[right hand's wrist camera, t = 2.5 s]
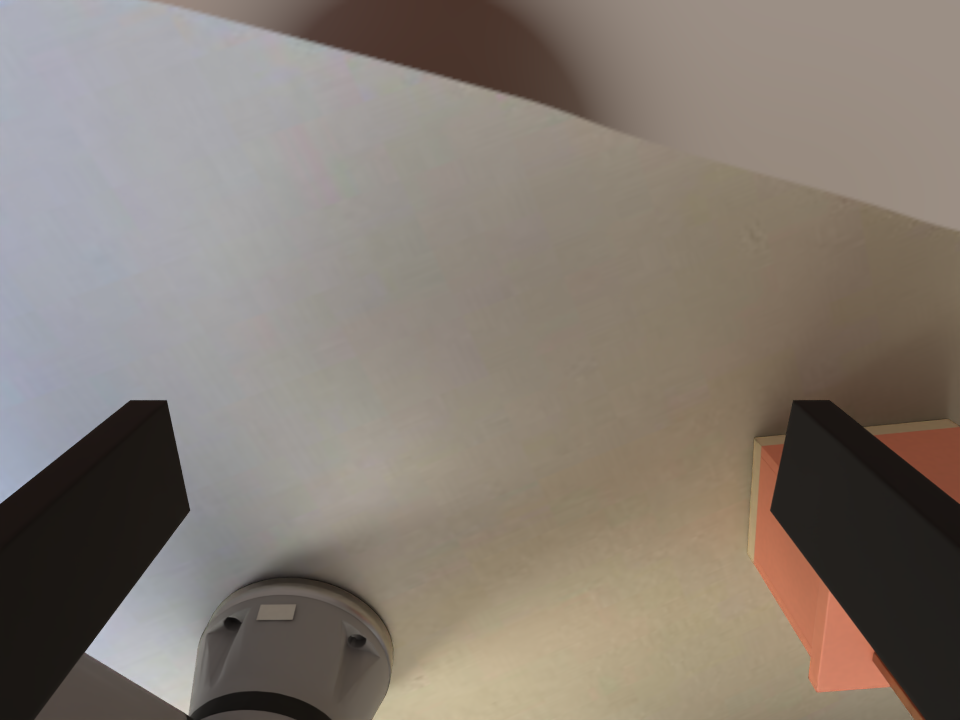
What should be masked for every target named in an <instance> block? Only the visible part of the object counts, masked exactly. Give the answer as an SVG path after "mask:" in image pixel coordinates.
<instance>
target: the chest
mask: <svg viewBox="0 0 960 720" xmlns="http://www.w3.org/2000/svg"><path fill="white" fill-rule="evenodd" d="M864 428H865V429H866V430H868V431H869V432H870V433H871V434H873V435H874V436H875V437H876V438H878V439H879V440H880V441H881V442H883V443H884V444H885V445H886V446H888V447H889V448H890V449H891V450H893V451H894V452H895V453H896V454H898V455H899V456H900V457H901V458H903V459H904V460H905V461H906V462H908V463H909V464H910V465H911V466H913V467H914V468H915V469H916V470H918V471H919V472H920V473H921V474H923V475H924V476H925V477H926V478H928V479H929V480H930V481H931V482H933V483H934V484H935V485H937V486H938V487H939V488H940V489H942V490H943V491H944V492H945V493H947V494H948V495H949V496H950V497H952V498H953V499H954V500H955V501H957V502H958V503H959V504H960V426H958V425H957V424H955V423H954V422H952V421H951V420H949V419H942V420H932V421H921V422H911V423H901V424H890V425H880V426H870V427H864ZM785 437H786V435H777V436H766V437H756V438H754V450H753V467H752V483H751V500H750V516H749V533H748V549H747V554H748V555H749V557H750V559H751V560H752V562H753V564H754V565H755V566H756V568H757V570H758V571H759V573H760V574H761V576H762V578H763V579H764V581H765V583H766V584H767V586H768V588H769V589H770V591H771V593H772V594H773V596H774V598H775V599H776V601H777V602H778V604H779V606H780V607H781V609H782V611H783V612H784V614H785V616H786V617H787V619H788V621H789V622H790V624H791V625H792V627H793V629H794V630H795V632H796V634H797V635H798V637H799V639H800V640H801V642H802V644H803V645H804V647H805V649H806V650H807V652H808V653H809V655H810V657H811V651H812V643H813V634H814V626H815V617H816V609H817V600H818V592H819V583H820V577H819V576H818V575H817V573H816V572H815V570H814V569H813V568H812V566H811V565H810V564H809V562H808V561H807V560H806V558H805V557H804V556H803V554H802V553H801V552H800V550H799V549H798V548H797V546H796V545H795V544H794V542H793V541H792V540H791V538H790V537H789V536H788V534H787V533H786V532H785V530H784V529H783V528H782V526H781V525H780V524H779V522H778V521H777V519H776V518H775V517H774V515H773V514H772V513H771V511H770V508H771V503H772V498H773V493H774V489H775V484H776V479H777V475H778V470H779V465H780V460H781V456H782V451H783V446H784V441H785Z"/></svg>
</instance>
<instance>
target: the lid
mask: <svg viewBox="0 0 960 720" xmlns="http://www.w3.org/2000/svg"><path fill="white" fill-rule="evenodd" d="M808 678H809V680H810V682H811V683H812V685H813V687H814V689H815V690H816V692H829V691H842V690H855V689H868V688H881V687H891V688H892V689H893V690H894V692H895V693H896V695H897V696H898V697H899V699H900V700H901V701H902V703H903V704H904V706H905V707H906V708H907V710H908V711H909V713H910V714H911V715H912V717H913V718H914V720H926V719H925V718H924V717H923V715H922V714H921V713H920V711H919V710H918V709H917V707H916V706H915V705H914V703H913V702H912V701H911V699H910V698H909V697H908V695H907V694H906V693H905V691H904V690H903V689H902V687H901V686H900V685H899V683H898V682H897V681H896V679H895V678H894V676H893V675H892V674H891V672H890V671H889V670H888V668H887V667H886V666H885V664H884V663H883V662H882V660H881V659H880V658H879V656H878V655H877V654H876V652H875V651H874V650H873V648H872V647H871V646H870V644H869V643H868V642H867V640H866V639H865V638H864V636H863V635H862V634H861V632H860V631H859V630H858V628H857V627H856V626H855V624H854V623H853V621H852V620H851V619H850V617H849V616H848V615H847V613H846V612H845V611H844V609H843V608H842V607H841V605H840V604H839V603H838V601H837V600H836V599H835V597H834V596H833V595H832V593H831V592H830V591H829V589H828V588H827V587H826V585H825V584H824V583H823V581H822V580H821V579H820V583H819V592H818V600H817V609H816V617H815V626H814V634H813V643H812V651H811V659H810V668H809V676H808Z"/></svg>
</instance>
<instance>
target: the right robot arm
mask: <svg viewBox="0 0 960 720" xmlns="http://www.w3.org/2000/svg"><path fill="white" fill-rule="evenodd" d="M189 511H190V508H189V503H188V498H187V493H186V489H185V484H184V479H183V475H182V470H181V465H180V460H179V456H178V451H177V446H176V441H175V437H174V432H173V427H172V422H171V418H170V413H169V408H168V404H167V400H130V401H129V402H128V403H126V404H125V405H124V406H123V407H121V408H120V409H119V410H118V411H116V412H115V413H114V414H113V415H111V416H110V417H109V418H108V419H106V420H105V421H104V422H103V423H101V424H100V425H99V426H97V427H96V428H95V429H94V430H92V431H91V432H90V433H89V434H87V435H86V436H85V437H84V438H82V439H81V440H80V441H79V442H77V443H76V444H75V445H74V446H72V447H71V448H70V449H69V450H67V451H66V452H65V453H64V454H62V455H61V456H60V457H59V458H57V459H56V460H55V461H54V462H52V463H51V464H50V465H49V466H47V467H46V468H45V469H44V470H42V471H41V472H40V473H39V474H37V475H36V476H35V477H34V478H32V479H31V480H30V481H29V482H27V483H26V484H25V485H23V486H22V487H21V488H20V489H18V490H17V491H16V492H15V493H13V494H12V495H11V496H10V497H8V498H7V499H6V500H5V501H3V502H2V503H1V504H0V720H372V719H373V717H374V715H375V713H376V711H377V710H378V708H379V706H380V704H381V702H382V701H383V699H384V697H385V695H386V693H387V690H388V687H389V683H390V677H391V671H392V665H393V646H392V642H391V638H390V635H389V633H388V631H387V629H386V627H385V625H384V624H383V622H382V621H381V619H380V618H379V617H378V615H377V614H376V613H375V612H374V611H373V610H372V609H371V608H370V607H369V606H368V605H367V604H365V603H364V602H363V601H361V600H360V599H359V598H357V597H355V596H354V595H352V594H350V593H349V592H347V591H345V590H343V589H340V588H338V587H336V586H333V585H330V584H327V583H324V582H320V581H316V580H310V579H303V578H275V579H268V580H264V581H259V582H256V583H253V584H250V585H248V586H245V587H243V588H241V589H239V590H238V591H236V592H234V593H233V594H231V595H230V596H229V597H227V598H226V599H225V600H224V601H223V602H222V603H221V604H220V605H219V606H218V608H217V609H216V611H215V612H214V614H213V615H212V617H211V619H210V621H209V623H208V625H207V626H206V628H205V630H204V632H203V634H202V636H201V639H200V641H199V645H198V650H197V658H196V665H195V673H194V680H193V687H192V695H191V702H190V709H189V716H188V715H186V714H185V713H183V712H182V711H180V710H179V709H177V708H175V707H174V706H172V705H170V704H169V703H167V702H165V701H164V700H162V699H160V698H159V697H157V696H155V695H154V694H152V693H150V692H149V691H147V690H146V689H144V688H142V687H141V686H139V685H137V684H136V683H134V682H132V681H131V680H129V679H127V678H126V677H124V676H122V675H121V674H119V673H117V672H116V671H114V670H113V669H111V668H109V667H108V666H106V665H104V664H103V663H101V662H99V661H98V660H96V659H94V658H93V657H91V656H89V655H88V654H86V653H84V652H85V651H86V650H87V648H88V647H89V646H90V644H91V643H92V642H93V640H94V639H95V638H96V636H97V635H98V634H99V632H100V631H101V630H102V628H103V627H104V625H105V624H106V623H107V621H108V620H109V619H110V617H111V616H112V615H113V613H114V612H115V611H116V609H117V608H118V607H119V605H120V604H121V603H122V601H123V600H124V599H125V597H126V596H127V595H128V593H129V592H130V591H131V589H132V588H133V587H134V585H135V584H136V583H137V581H138V580H139V579H140V577H141V576H142V575H143V573H144V572H145V570H146V569H147V568H148V566H149V565H150V564H151V562H152V561H153V560H154V558H155V557H156V556H157V554H158V553H159V552H160V550H161V549H162V548H163V546H164V545H165V544H166V542H167V541H168V540H169V538H170V537H171V536H172V534H173V533H174V532H175V530H176V529H177V528H178V526H179V525H180V524H181V522H182V521H183V519H184V518H185V517H186V515H187V514H188V513H189ZM770 511H771V513H772V514H773V515H774V517H775V518H776V519H777V521H778V522H779V524H780V525H781V526H782V528H783V529H784V530H785V532H786V533H787V534H788V536H789V537H790V538H791V540H792V541H793V542H794V544H795V545H796V546H797V548H798V549H799V550H800V552H801V553H802V554H803V556H804V557H805V558H806V560H807V561H808V562H809V564H810V565H811V566H812V568H813V569H814V570H815V572H816V573H817V575H818V576H819V577H820V579H821V580H822V581H823V583H824V584H825V585H826V587H827V588H828V589H829V591H830V592H831V593H832V595H833V596H834V597H835V599H836V600H837V601H838V603H839V604H840V605H841V607H842V608H843V609H844V611H845V612H846V613H847V615H848V616H849V617H850V619H851V620H852V621H853V623H854V624H855V626H856V627H857V628H858V630H859V631H860V632H861V634H862V635H863V636H864V638H865V639H866V640H867V642H868V643H869V644H870V646H871V647H872V648H873V650H874V651H875V652H876V654H877V655H878V656H879V658H880V659H881V660H882V662H883V663H884V664H885V666H886V667H887V668H888V670H889V671H890V672H891V674H892V675H893V676H894V678H895V679H896V681H897V682H898V683H899V685H900V686H901V687H902V689H903V690H904V691H905V693H906V694H907V695H908V697H909V698H910V699H911V701H912V702H913V703H914V705H915V706H916V707H917V709H918V710H919V711H920V713H921V714H922V715H923V717H924V718H925V719H926V720H960V504H959V503H958V502H957V501H955V500H954V499H953V498H952V497H950V496H949V495H948V494H947V493H945V492H944V491H943V490H942V489H940V488H939V487H938V486H937V485H935V484H934V483H933V482H931V481H930V480H929V479H928V478H926V477H925V476H924V475H923V474H921V473H920V472H919V471H918V470H916V469H915V468H914V467H913V466H911V465H910V464H909V463H908V462H906V461H905V460H904V459H903V458H901V457H900V456H899V455H898V454H896V453H895V452H894V451H893V450H891V449H890V448H889V447H888V446H886V445H885V444H884V443H883V442H881V441H880V440H879V439H878V438H876V437H875V436H874V435H873V434H871V433H870V432H869V431H868V430H866V429H865V428H864V427H863V426H861V425H860V424H859V423H857V422H856V421H855V420H854V419H852V418H851V417H850V416H849V415H847V414H846V413H845V412H844V411H842V410H841V409H840V408H839V407H837V406H836V405H835V404H834V403H832V402H831V401H830V400H793V403H792V408H791V413H790V418H789V422H788V427H787V432H786V437H785V441H784V446H783V451H782V456H781V460H780V465H779V470H778V475H777V479H776V484H775V489H774V493H773V498H772V503H771V508H770Z"/></svg>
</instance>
